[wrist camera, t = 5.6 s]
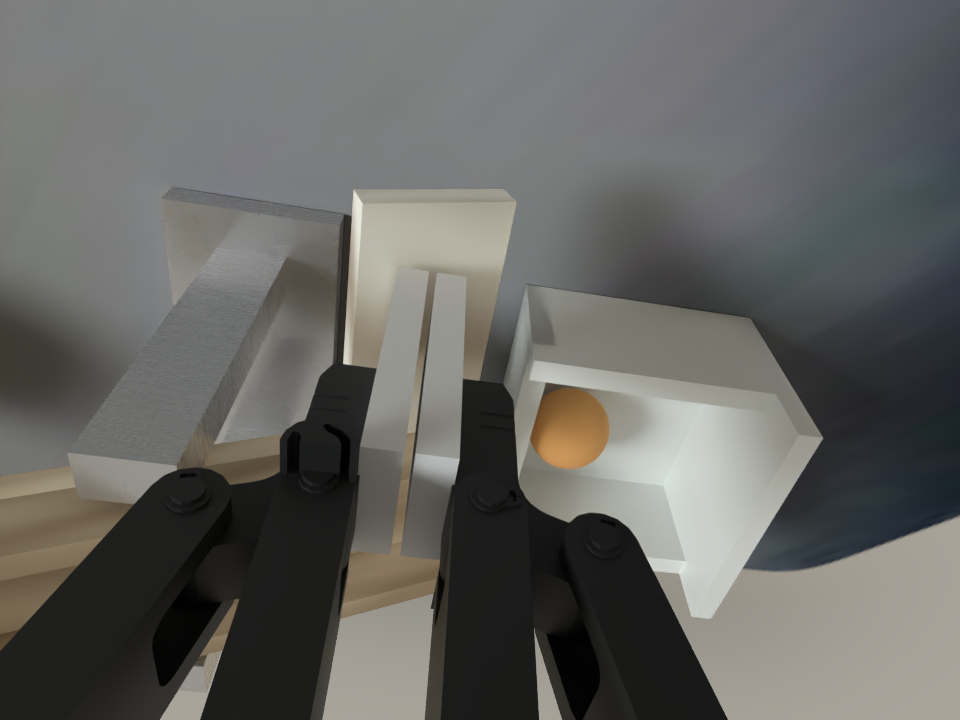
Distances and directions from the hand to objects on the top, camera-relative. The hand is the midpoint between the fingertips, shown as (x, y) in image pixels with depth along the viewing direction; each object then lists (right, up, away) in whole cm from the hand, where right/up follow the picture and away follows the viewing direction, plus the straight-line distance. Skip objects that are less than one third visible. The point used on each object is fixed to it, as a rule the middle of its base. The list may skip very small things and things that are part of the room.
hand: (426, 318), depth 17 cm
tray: (+7, -3, +11) cm, 14 cm away
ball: (+5, -4, +9) cm, 11 cm away
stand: (-8, -1, +10) cm, 13 cm away
